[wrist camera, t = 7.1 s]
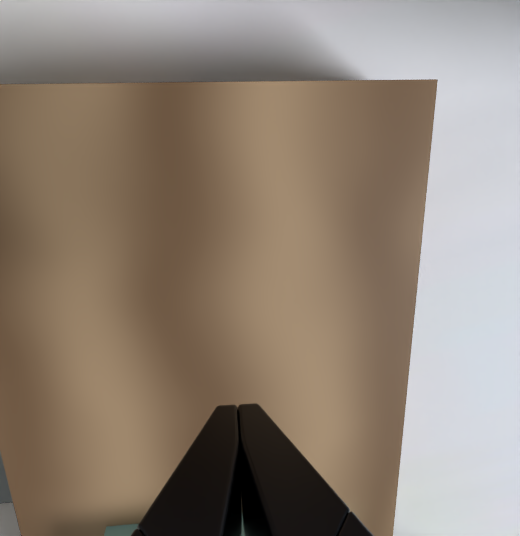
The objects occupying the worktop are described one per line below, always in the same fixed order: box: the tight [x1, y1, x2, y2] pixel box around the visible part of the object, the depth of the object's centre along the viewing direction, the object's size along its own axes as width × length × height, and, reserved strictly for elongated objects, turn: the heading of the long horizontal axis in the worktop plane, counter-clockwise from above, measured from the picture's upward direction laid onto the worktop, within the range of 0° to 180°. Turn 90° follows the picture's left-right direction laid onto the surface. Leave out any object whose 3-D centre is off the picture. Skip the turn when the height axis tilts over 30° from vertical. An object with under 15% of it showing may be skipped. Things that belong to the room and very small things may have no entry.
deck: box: [0, 80, 437, 536], centre depth 17 cm, size 14×22×4 cm, turn 1°
